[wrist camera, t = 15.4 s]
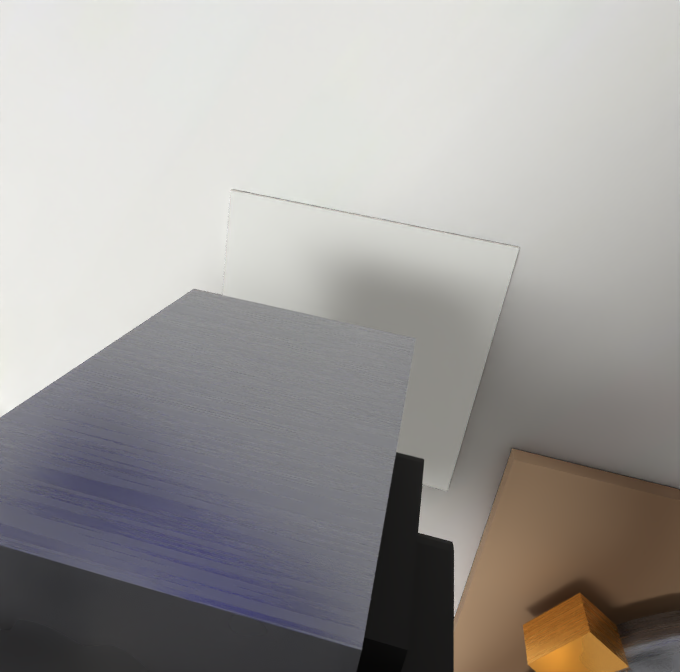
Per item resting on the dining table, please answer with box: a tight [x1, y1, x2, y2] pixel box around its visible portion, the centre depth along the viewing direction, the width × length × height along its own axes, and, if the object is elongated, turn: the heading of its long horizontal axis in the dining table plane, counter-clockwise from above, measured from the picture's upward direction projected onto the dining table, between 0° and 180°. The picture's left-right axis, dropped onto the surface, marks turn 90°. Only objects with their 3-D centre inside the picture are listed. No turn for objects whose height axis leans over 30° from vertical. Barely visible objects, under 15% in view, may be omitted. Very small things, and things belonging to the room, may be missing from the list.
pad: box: [222, 190, 519, 491], centre depth 17 cm, size 8×8×1 cm
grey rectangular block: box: [0, 289, 416, 672], centre depth 8 cm, size 4×7×6 cm, turn 171°
